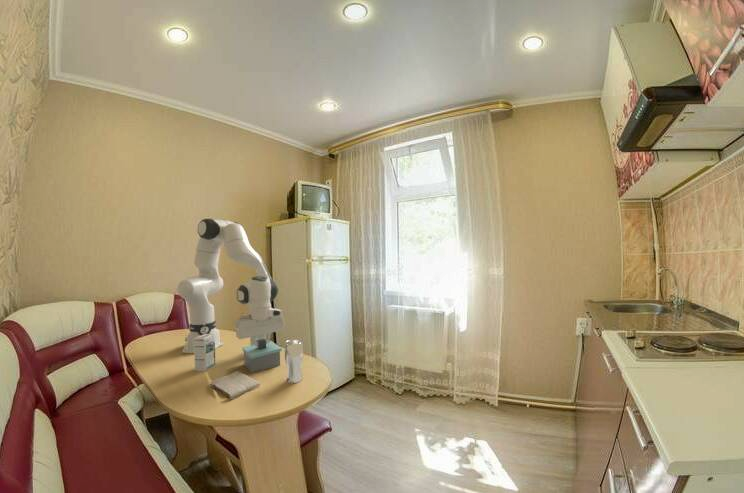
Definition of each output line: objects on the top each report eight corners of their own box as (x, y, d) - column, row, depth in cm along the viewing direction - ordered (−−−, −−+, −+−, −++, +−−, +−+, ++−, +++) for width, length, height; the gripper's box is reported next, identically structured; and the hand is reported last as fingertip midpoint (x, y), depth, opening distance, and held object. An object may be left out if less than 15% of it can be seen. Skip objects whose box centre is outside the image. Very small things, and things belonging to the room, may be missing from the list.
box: (244, 366, 125) (243, 350, 125) (271, 358, 133) (270, 344, 133) (251, 375, 116) (251, 358, 116) (280, 366, 123) (279, 351, 123)
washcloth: (237, 376, 117) (237, 368, 117) (261, 387, 106) (261, 379, 106) (207, 387, 107) (206, 379, 107) (230, 402, 97) (230, 393, 97)
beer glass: (284, 377, 113) (283, 340, 113) (302, 374, 115) (301, 338, 115) (286, 385, 106) (285, 346, 106) (305, 381, 109) (304, 343, 109)
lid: (242, 353, 126) (242, 339, 126) (271, 346, 134) (271, 333, 134) (250, 361, 115) (250, 347, 115) (281, 353, 123) (281, 340, 123)
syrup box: (206, 371, 121) (205, 338, 121) (194, 371, 122) (193, 337, 122) (215, 366, 126) (215, 334, 126) (204, 365, 127) (203, 333, 127)
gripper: (237, 318, 116) (238, 352, 115) (285, 310, 128) (286, 340, 128) (233, 316, 121) (234, 348, 120) (280, 308, 133) (281, 337, 133)
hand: (261, 344), depth 124 cm, fingers closed on lid, 3 cm apart
